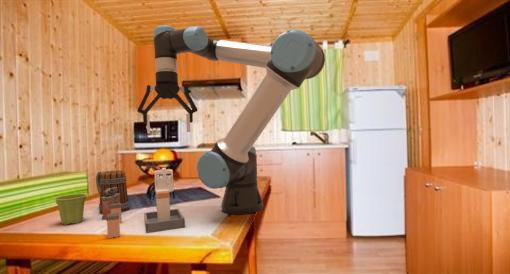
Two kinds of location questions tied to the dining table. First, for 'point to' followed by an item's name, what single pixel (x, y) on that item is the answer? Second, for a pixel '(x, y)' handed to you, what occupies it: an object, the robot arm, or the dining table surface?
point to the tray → (173, 223)
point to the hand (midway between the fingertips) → (169, 132)
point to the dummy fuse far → (116, 209)
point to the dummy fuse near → (113, 225)
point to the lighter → (109, 201)
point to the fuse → (163, 205)
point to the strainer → (164, 179)
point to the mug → (111, 181)
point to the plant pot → (71, 207)
